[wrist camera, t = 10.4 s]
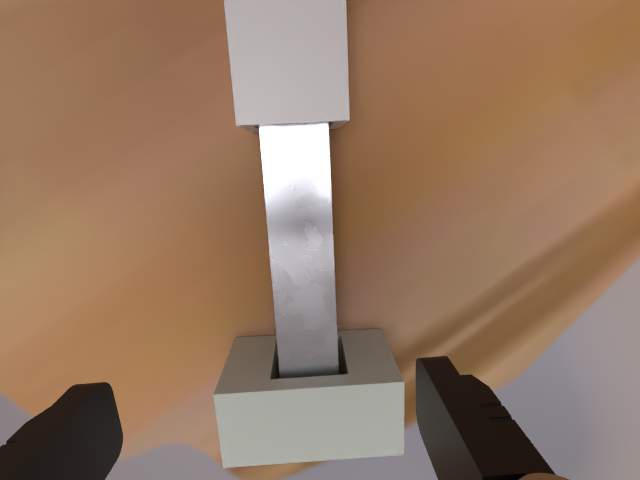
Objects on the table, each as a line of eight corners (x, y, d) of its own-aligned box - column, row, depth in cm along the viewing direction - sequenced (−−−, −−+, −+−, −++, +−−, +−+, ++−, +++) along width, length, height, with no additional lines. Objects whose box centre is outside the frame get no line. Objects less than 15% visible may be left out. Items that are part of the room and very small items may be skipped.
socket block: (380, 328, 30) (404, 381, 23) (381, 386, 31) (403, 454, 24) (235, 337, 30) (213, 394, 23) (242, 396, 31) (223, 467, 24)
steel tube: (321, 38, 24) (324, 14, 20) (336, 389, 30) (341, 426, 26) (258, 41, 24) (248, 17, 20) (286, 392, 29) (283, 430, 25)
